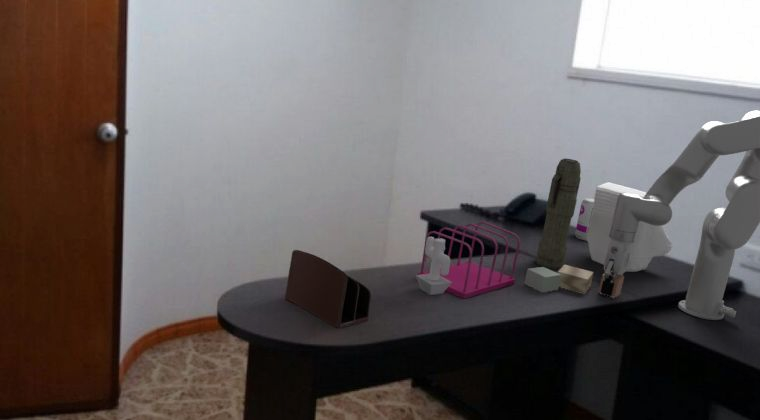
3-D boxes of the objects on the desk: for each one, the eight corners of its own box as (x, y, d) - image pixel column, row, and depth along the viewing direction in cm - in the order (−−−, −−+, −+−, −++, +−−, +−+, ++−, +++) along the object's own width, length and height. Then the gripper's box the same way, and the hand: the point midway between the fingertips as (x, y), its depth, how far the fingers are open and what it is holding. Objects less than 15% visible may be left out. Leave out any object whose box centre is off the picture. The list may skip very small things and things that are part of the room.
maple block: (590, 287, 230) (593, 272, 229) (584, 295, 222) (588, 279, 221) (561, 279, 234) (564, 264, 233) (554, 287, 226) (557, 271, 225)
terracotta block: (619, 295, 227) (624, 276, 225) (614, 298, 223) (618, 279, 221) (603, 289, 229) (608, 271, 228) (598, 293, 225) (602, 274, 224)
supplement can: (573, 238, 284) (582, 200, 280) (574, 233, 292) (583, 196, 288) (595, 243, 282) (604, 204, 278) (596, 238, 289) (604, 200, 286)
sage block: (557, 290, 223) (561, 274, 222) (541, 293, 219) (545, 277, 217) (540, 282, 228) (543, 266, 227) (524, 284, 224) (527, 268, 223)
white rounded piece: (597, 249, 274) (613, 180, 267) (667, 274, 255) (685, 201, 249) (565, 256, 259) (581, 183, 253) (637, 282, 241) (655, 205, 234)
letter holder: (338, 329, 174) (346, 272, 170) (284, 299, 186) (290, 245, 183) (368, 321, 181) (376, 266, 177) (314, 292, 194) (321, 240, 190)
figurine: (432, 299, 201) (440, 245, 197) (410, 286, 208) (419, 234, 204) (452, 296, 205) (461, 244, 201) (431, 283, 212) (439, 233, 209)
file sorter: (514, 284, 222) (524, 234, 218) (463, 299, 204) (473, 245, 200) (467, 266, 233) (476, 217, 230) (415, 278, 215) (424, 226, 211)
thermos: (527, 261, 246) (548, 157, 237) (548, 257, 254) (569, 156, 245) (549, 270, 240) (571, 164, 231) (570, 266, 248) (592, 163, 239)
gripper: (626, 243, 212) (612, 302, 217) (644, 233, 226) (630, 290, 231) (600, 235, 216) (587, 294, 221) (619, 227, 230) (607, 282, 235)
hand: (609, 291), depth 226 cm, fingers open, 5 cm apart
